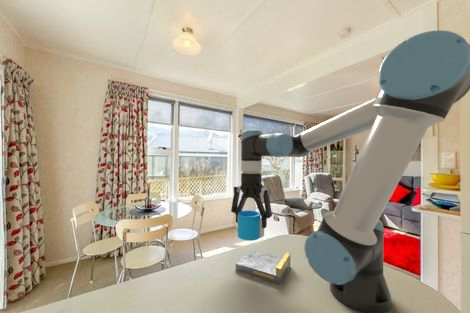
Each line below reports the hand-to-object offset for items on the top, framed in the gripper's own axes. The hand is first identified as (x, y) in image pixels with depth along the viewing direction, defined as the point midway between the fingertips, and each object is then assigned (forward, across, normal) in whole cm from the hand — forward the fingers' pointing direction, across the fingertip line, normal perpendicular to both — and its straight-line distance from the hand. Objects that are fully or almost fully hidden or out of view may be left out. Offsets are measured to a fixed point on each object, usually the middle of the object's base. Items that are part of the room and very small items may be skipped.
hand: (250, 233), depth 75 cm
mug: (0, +1, 0) cm, 1 cm away
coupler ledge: (+11, -5, 0) cm, 13 cm away
